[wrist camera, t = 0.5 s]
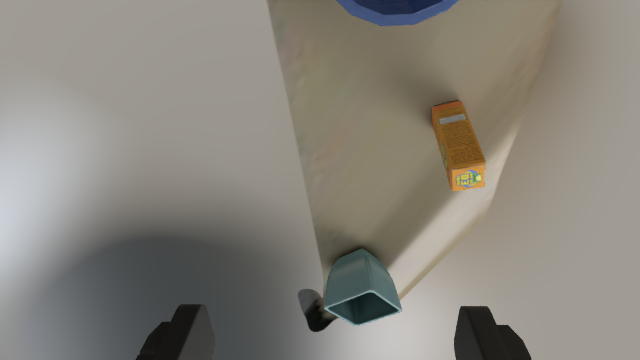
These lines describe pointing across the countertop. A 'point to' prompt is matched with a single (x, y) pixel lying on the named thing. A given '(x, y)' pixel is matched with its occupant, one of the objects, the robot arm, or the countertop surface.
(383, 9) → the pan
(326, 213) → the countertop surface
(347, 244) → the countertop surface
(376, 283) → the flower pot
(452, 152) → the supplement box
